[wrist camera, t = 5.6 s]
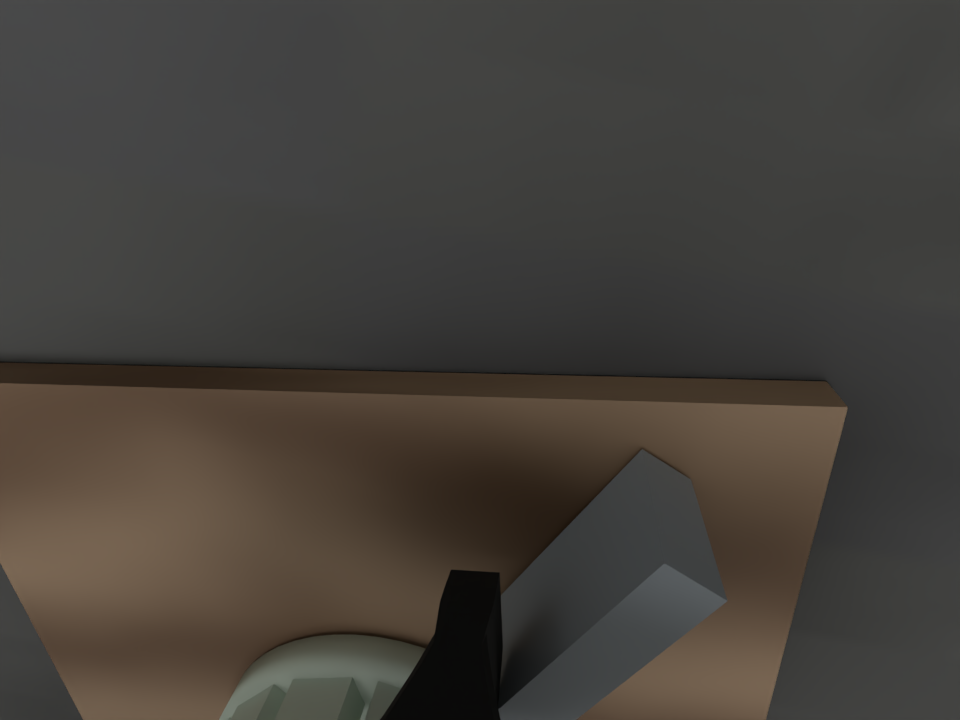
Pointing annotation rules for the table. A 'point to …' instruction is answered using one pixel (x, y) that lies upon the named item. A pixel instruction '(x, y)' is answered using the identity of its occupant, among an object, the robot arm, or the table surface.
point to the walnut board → (377, 515)
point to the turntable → (534, 616)
